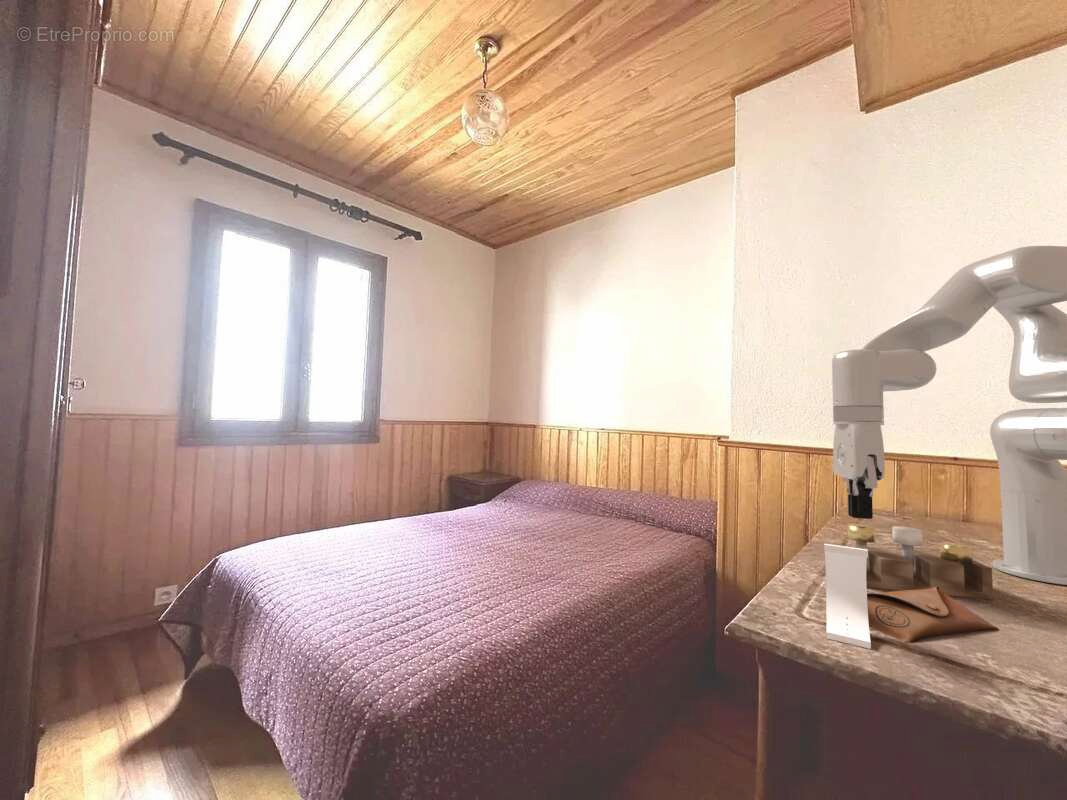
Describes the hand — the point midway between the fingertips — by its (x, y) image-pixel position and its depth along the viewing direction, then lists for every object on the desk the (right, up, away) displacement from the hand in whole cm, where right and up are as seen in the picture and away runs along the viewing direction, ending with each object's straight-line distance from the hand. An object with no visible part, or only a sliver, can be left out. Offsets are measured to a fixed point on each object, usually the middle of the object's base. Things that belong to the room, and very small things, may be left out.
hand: (860, 517), depth 79 cm
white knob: (+7, -8, -2) cm, 11 cm away
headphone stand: (-18, -10, -22) cm, 30 cm away
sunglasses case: (-5, -11, -18) cm, 21 cm away
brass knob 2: (+13, -10, -4) cm, 17 cm away
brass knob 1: (0, -8, 0) cm, 8 cm away
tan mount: (+7, -11, -3) cm, 13 cm away
